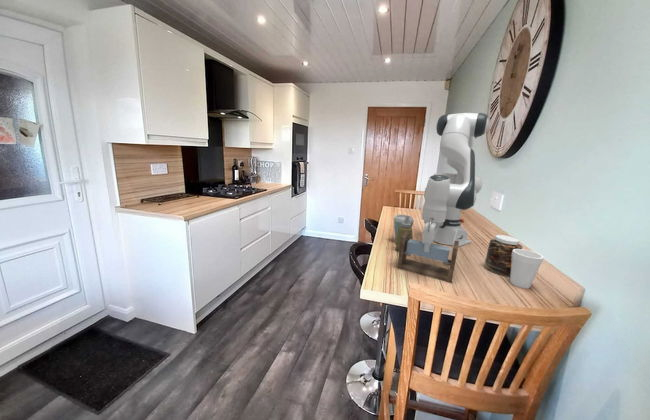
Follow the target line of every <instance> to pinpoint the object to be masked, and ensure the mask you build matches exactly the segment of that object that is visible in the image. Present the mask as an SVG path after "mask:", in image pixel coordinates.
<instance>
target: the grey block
mask: <svg viewBox="0 0 650 420" xmlns="http://www.w3.org/2000/svg"><path fill="white" fill-rule="evenodd" d="M424 248H425V243H422V240H421V241H420V240H416V239H413V238H412V239H410V240H409V241H408V244H407V251H406V253H408V254H410V255H411V256H416V257H417V256H418V257H421V258H426V259H430V260H434V261H439V262H442V263H443V262H446V263H447V262H448V260H449V256H450V252H451V247H449V246H446V245H439V244H434V243H432V244H431V245H430V250H429V252H425V251H424Z"/></svg>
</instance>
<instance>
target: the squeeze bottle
mask: <svg viewBox="0 0 650 420" xmlns="http://www.w3.org/2000/svg"><path fill="white" fill-rule="evenodd" d="M408 216H409V215H408ZM408 216H406V218H405V221H404V222H403V223H401V227H399V230H398V234H397V238H396V241H395V248H396V250H397V251H398V252H399V248H400V240H401V236H402V235H403V234H404V233H405V232H406V231H407V232H410V234H409V240H410V239H412V240H413V231H414V230H413V227H412V228H411V224H410V223H409V217H408Z"/></svg>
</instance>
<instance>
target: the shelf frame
mask: <svg viewBox="0 0 650 420" xmlns="http://www.w3.org/2000/svg"><path fill="white" fill-rule="evenodd" d="M409 234H410V232H407V231H406V232H405V233H404V234H403V235H402V236H401V240H400V248H399V251H398V257H397V263H396V264H397V265H396V269H399V270H402V271H406V272H410V273H413V274H418V275H421V276H425V277H428V278H431V279H435V280H436V279H437V280H440V281H444V282H447V283H451V284H452V282H453V277H454V273H455V267H456V261H457V257H458V251H459V247H458V245H459V242H458V241H454V246H453V247H452V254H451V259H448V262H447V263H446V262H442V264H443V265H444V266H449V268H446V267H441V266H437V265H433V264H429V263H425V262H422V261H417V260H412V259H410V258H409V259H408V258H407V256H408V257H411V254H408V253H406V251H407V244H408V241H409Z"/></svg>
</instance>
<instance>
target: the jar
mask: <svg viewBox="0 0 650 420" xmlns="http://www.w3.org/2000/svg"><path fill="white" fill-rule="evenodd" d="M513 249H523V246H522V244H520V240H519V239H517V238H516V237H513V236H509V235H502V234H496V235H495V237H494V238H491V239H490V240H489V244H488V247H487V251H486V256H485V262H484V266H483V267H484V269H486V270H487V271H489V272H492V273H493V274H497V275H500V276H503V277H510V275H511V261H512V256H511V255H512V251H513Z"/></svg>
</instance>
